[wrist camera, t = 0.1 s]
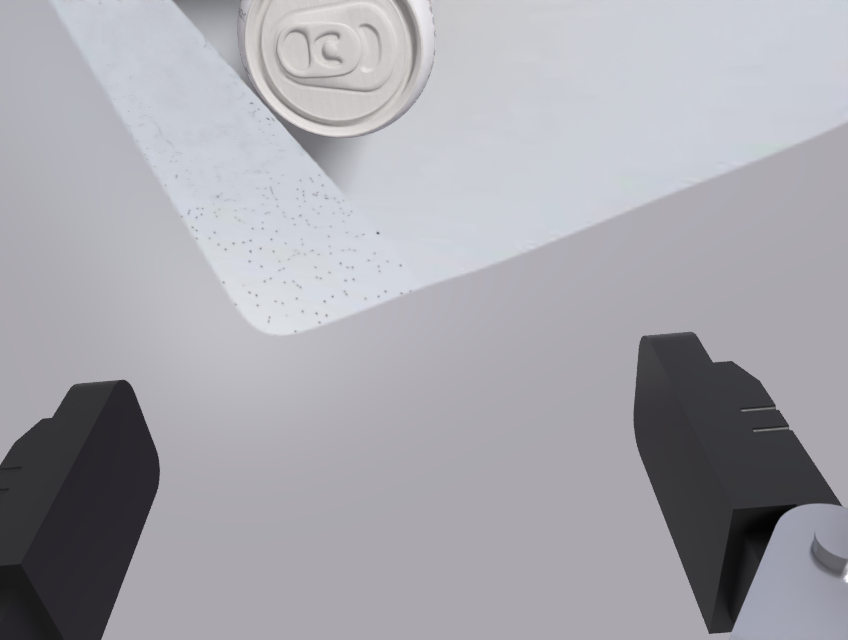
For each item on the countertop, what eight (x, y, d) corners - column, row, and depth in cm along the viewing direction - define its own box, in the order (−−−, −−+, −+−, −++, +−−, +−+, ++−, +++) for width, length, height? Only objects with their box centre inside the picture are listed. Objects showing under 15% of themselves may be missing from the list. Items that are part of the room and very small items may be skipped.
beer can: (426, 41, 36) (438, 146, 24) (301, 45, 36) (247, 152, 24) (422, -102, 33) (435, -68, 20) (285, -98, 33) (213, -61, 20)
